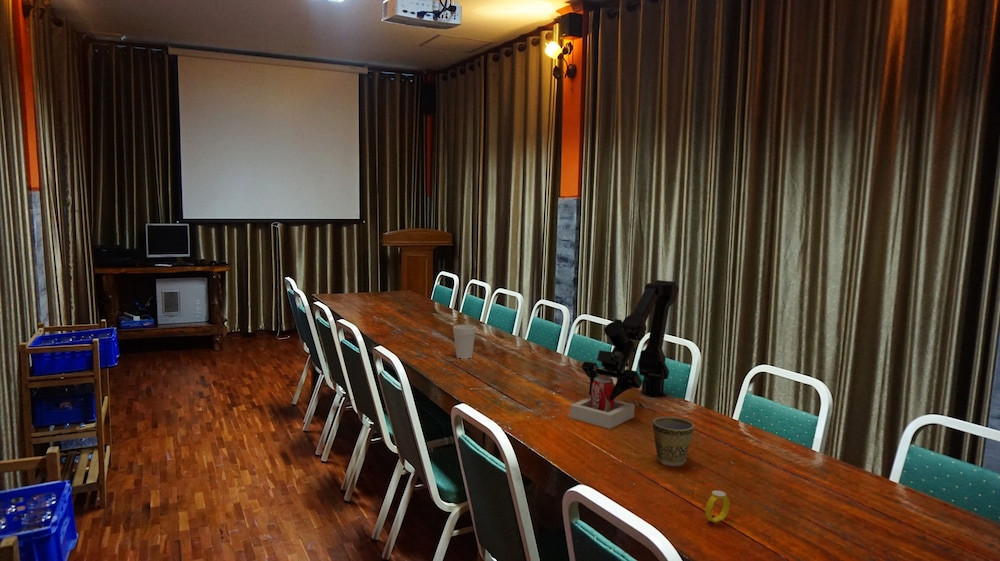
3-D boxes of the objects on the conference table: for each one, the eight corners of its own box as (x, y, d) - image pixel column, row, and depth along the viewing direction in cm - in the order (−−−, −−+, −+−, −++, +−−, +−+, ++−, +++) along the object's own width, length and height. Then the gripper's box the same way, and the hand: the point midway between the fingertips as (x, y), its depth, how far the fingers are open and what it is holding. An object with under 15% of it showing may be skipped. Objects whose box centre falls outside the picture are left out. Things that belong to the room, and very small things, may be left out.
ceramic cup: (685, 472, 156) (687, 432, 155) (645, 463, 161) (647, 424, 160) (699, 455, 167) (701, 418, 165) (661, 447, 172) (663, 411, 171)
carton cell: (594, 407, 205) (595, 395, 204) (633, 417, 196) (634, 404, 195) (569, 417, 194) (570, 405, 194) (610, 428, 185) (610, 415, 185)
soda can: (613, 422, 191) (615, 383, 189) (589, 420, 192) (591, 381, 191) (614, 414, 198) (615, 376, 196) (590, 412, 199) (592, 375, 198)
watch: (720, 515, 135) (723, 488, 135) (731, 520, 133) (734, 493, 132) (701, 520, 132) (704, 492, 131) (712, 526, 130) (715, 497, 129)
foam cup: (479, 357, 269) (480, 326, 267) (467, 361, 261) (467, 330, 259) (461, 354, 274) (461, 324, 272) (448, 358, 266) (448, 327, 264)
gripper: (585, 335, 201) (564, 376, 194) (639, 345, 189) (618, 389, 182) (598, 356, 208) (577, 396, 201) (650, 366, 196) (630, 409, 189)
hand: (600, 397), depth 193 cm, fingers closed on soda can, 7 cm apart
